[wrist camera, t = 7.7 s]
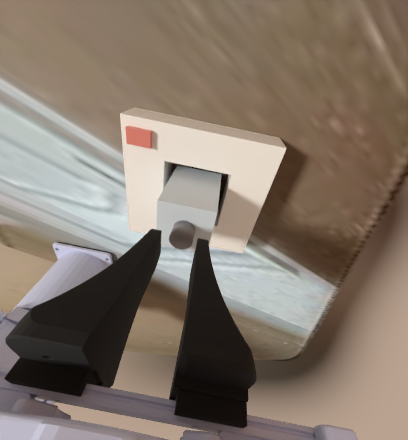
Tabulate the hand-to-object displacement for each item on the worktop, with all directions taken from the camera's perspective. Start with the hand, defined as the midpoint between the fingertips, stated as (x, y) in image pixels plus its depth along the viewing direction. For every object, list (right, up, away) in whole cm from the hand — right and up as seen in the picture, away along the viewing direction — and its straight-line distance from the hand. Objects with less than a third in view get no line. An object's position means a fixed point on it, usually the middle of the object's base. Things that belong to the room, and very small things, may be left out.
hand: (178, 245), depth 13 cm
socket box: (+1, +5, +7) cm, 9 cm away
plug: (+1, +5, +7) cm, 9 cm away
